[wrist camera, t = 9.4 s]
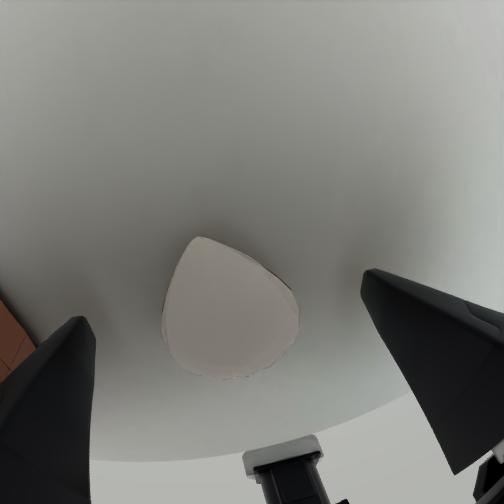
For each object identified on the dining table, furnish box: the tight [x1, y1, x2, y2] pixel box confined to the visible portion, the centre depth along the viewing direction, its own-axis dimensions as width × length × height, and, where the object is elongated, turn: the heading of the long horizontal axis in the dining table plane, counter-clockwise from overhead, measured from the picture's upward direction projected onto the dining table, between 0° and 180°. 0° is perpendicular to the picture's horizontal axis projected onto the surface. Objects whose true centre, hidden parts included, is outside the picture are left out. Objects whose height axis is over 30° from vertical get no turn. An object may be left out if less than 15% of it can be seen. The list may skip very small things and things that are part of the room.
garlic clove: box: [161, 237, 299, 380], centre depth 8 cm, size 4×5×2 cm
